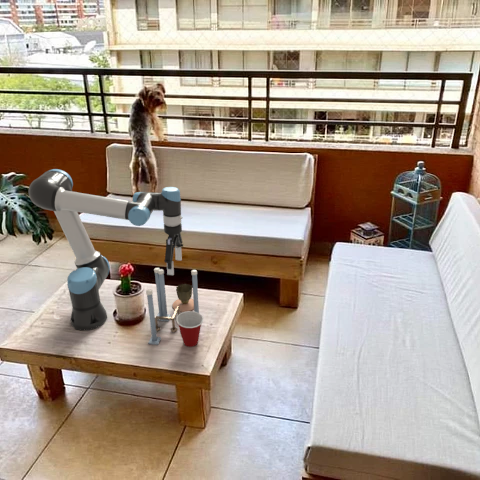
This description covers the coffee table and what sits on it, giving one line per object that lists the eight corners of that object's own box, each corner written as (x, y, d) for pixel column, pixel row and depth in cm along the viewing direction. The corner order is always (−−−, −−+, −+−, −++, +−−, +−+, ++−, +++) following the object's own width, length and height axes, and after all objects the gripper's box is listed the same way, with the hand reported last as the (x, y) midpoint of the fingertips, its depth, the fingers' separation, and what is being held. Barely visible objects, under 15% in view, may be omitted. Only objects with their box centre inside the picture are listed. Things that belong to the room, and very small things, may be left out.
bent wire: (152, 331, 188) (151, 318, 185) (160, 315, 198) (158, 303, 196) (176, 332, 187) (175, 320, 184) (183, 316, 197) (182, 304, 194)
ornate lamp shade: (192, 306, 203) (191, 291, 200) (176, 306, 203) (174, 291, 200) (193, 298, 210) (193, 283, 207) (178, 297, 210) (177, 283, 207)
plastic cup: (201, 352, 175) (199, 327, 170) (174, 349, 177) (172, 325, 172) (207, 335, 185) (206, 311, 180) (182, 333, 187) (180, 309, 182)
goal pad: (169, 311, 201) (169, 310, 201) (175, 298, 211) (175, 297, 211) (193, 312, 200) (193, 311, 200) (198, 299, 210) (198, 298, 209)
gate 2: (200, 322, 194) (197, 273, 183) (156, 319, 196) (150, 271, 185) (202, 316, 197) (199, 269, 187) (158, 313, 199) (153, 266, 189)
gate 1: (148, 344, 180) (142, 293, 170) (162, 315, 198) (157, 268, 188) (158, 344, 180) (152, 293, 170) (171, 316, 198) (166, 268, 187)
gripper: (173, 236, 178) (175, 281, 187) (188, 213, 200) (189, 255, 209) (155, 234, 178) (158, 280, 187) (171, 211, 201) (174, 253, 210)
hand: (174, 267), depth 198 cm, fingers open, 13 cm apart
